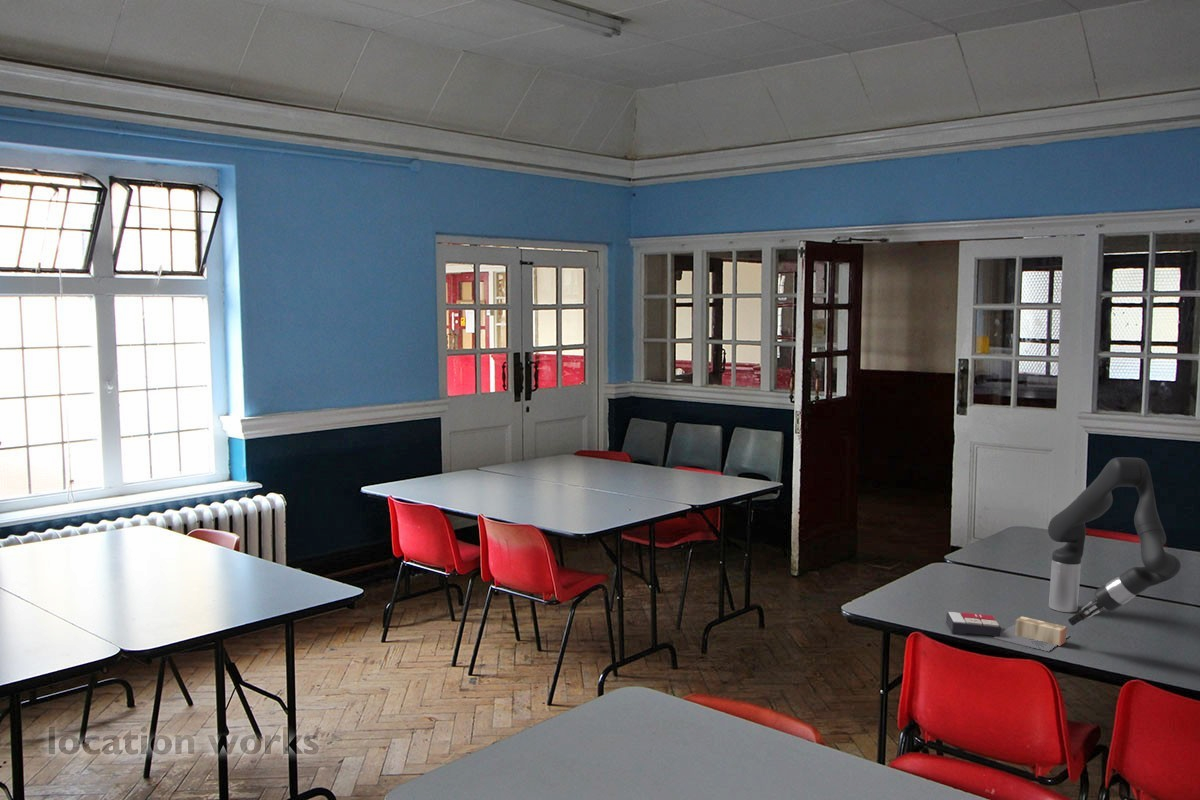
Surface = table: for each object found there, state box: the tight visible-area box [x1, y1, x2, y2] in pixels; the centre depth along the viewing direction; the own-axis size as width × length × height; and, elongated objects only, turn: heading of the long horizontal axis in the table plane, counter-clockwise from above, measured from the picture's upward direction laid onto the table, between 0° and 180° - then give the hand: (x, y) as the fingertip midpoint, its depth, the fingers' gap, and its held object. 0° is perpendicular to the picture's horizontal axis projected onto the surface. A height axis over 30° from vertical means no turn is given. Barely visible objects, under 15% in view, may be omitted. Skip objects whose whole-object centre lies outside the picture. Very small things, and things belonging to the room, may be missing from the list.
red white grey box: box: [945, 611, 1002, 637], centre depth 320 cm, size 11×4×15 cm
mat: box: [993, 622, 1071, 653], centre depth 315 cm, size 20×17×1 cm
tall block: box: [1015, 615, 1067, 647], centre depth 313 cm, size 5×5×14 cm
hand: (1070, 622), depth 306 cm, fingers closed
